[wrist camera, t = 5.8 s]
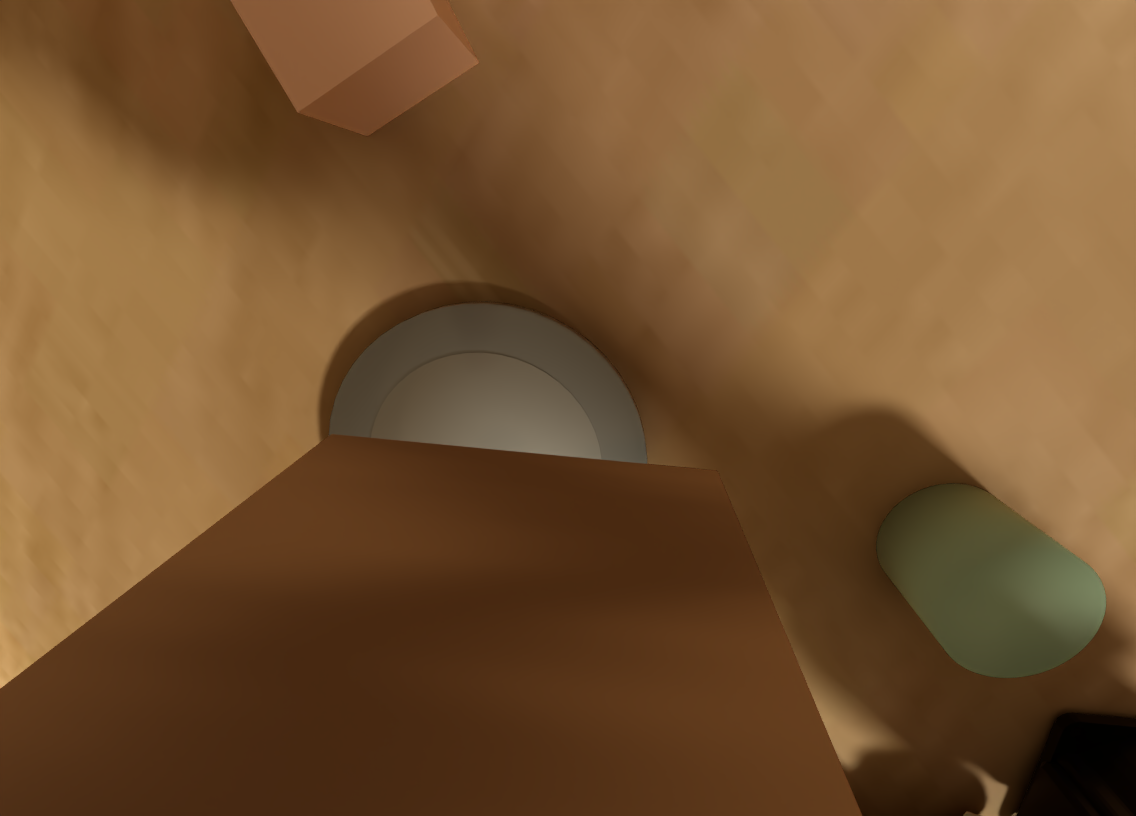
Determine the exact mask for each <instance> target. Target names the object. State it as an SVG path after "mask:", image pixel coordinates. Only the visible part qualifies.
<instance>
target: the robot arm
mask: <svg viewBox="0 0 1136 816" xmlns="http://www.w3.org/2000/svg"><path fill="white" fill-rule="evenodd" d="M1017 816H1136V719H1134V718H1123V717H1112V716H1101V715H1090V714H1079V713H1067V714H1064V715H1062V716H1060V717H1059V718H1057V720H1056V721H1055V723H1054V726H1053V728H1052V731H1051V733H1050V736H1049V738H1048V740H1047V743H1046V745H1045V748H1044V750H1043V753H1042V755H1041V758H1040V760H1039V762H1038V765H1037V767H1036V770H1035V772H1034V775H1033V777H1032V779H1031V782H1030V784H1029V787H1028V789H1027V792H1026V794H1025V797H1024V799H1023V801H1022V804H1021V806H1020V809H1019V811H1018V814H1017Z"/></svg>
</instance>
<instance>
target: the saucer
mask: <svg viewBox="0 0 1136 816" xmlns="http://www.w3.org/2000/svg"><path fill="white" fill-rule="evenodd" d="M331 434H337V435H347V436H358V437H369V438H379V439H390V440H400V441H411V442H421V443H432V444H443V445H453V446H464V447H474V448H485V449H495V450H506V451H517V452H527V453H538V454H548V455H559V456H569V457H580V458H591V459H601V460H612V461H622V462H633V463H643V464H647V453H646V445H645V437H644V430H643V426H642V422H641V419H640V415H639V411H638V409H637V406H636V404H635V402H634V399H633V397H632V394H631V392H630V390H629V389H628V387H627V385H626V384H625V382H624V380H623V379H622V377H621V375H620V374H619V372H618V371H617V370H616V369H615V367H614V366H613V365H612V364H611V362H610V361H609V360H608V358H607V357H606V356H605V355H604V354H603V353H602V352H601V351H600V350H599V349H598V348H596V347H595V346H594V345H593V344H592V343H591V342H590V341H589V340H587V339H586V338H585V337H583V336H582V335H581V334H579V333H578V332H577V331H575V330H574V329H573V328H571V327H569V326H567V325H565V324H564V323H562V322H560V321H558V320H556V319H555V318H553V317H550V316H548V315H545V314H542V313H540V312H537V311H535V310H532V309H528V308H524V307H520V306H516V305H513V304H506V303H497V302H464V303H457V304H450V305H445V306H442V307H438V308H435V309H432V310H428V311H425V312H423V313H421V314H419V315H417V316H415V317H412V318H410V319H408V320H406V321H404V322H402V323H400V324H398V325H396V326H395V327H393V328H392V329H390V330H389V331H387V332H386V333H384V334H382V335H381V336H380V337H379V338H378V339H376V340H375V341H374V342H373V343H372V344H371V345H370V346H369V347H367V348H366V349H365V351H364V352H363V353H362V354H361V355H360V357H359V358H358V359H357V360H356V361H355V362H354V364H353V365H352V367H351V368H350V370H349V372H348V373H347V375H346V377H345V378H344V380H343V382H342V384H341V387H340V389H339V391H338V394H337V396H336V399H335V402H334V406H333V410H332V414H331V418H330V428H329V435H331Z"/></svg>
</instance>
